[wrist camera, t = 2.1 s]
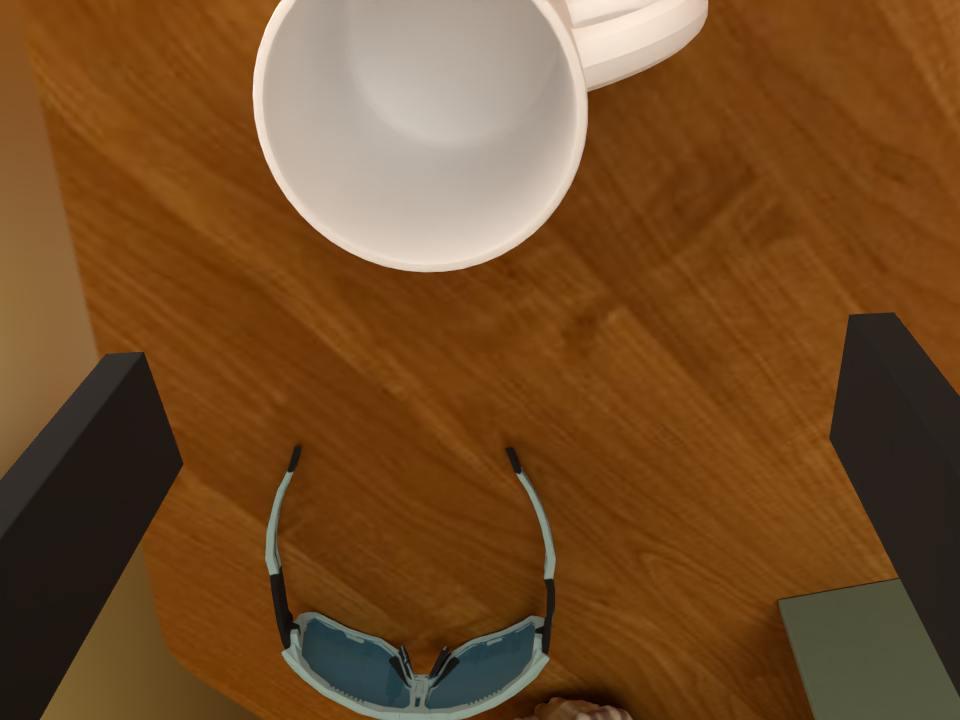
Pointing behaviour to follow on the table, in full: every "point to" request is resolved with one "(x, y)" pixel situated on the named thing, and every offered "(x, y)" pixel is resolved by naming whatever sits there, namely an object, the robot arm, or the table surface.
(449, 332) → the table surface
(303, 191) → the mug
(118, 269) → the table surface
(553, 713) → the seashell
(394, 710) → the sunglasses
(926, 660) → the shelf
